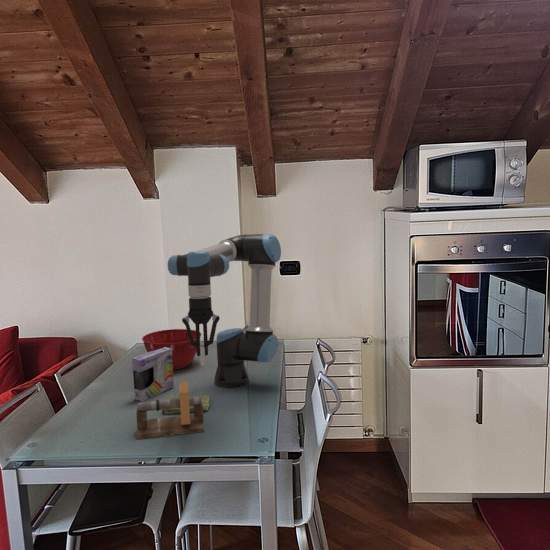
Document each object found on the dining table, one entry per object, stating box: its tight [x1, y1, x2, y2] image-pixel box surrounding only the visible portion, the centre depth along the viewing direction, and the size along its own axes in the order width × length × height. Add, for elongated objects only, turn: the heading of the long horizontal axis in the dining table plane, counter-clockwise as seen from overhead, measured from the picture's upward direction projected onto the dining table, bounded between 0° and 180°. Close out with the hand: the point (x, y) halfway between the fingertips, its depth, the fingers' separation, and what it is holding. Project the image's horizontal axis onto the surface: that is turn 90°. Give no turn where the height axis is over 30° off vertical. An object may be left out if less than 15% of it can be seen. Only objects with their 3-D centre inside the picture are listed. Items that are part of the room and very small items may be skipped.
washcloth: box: [161, 394, 211, 415], centre depth 186 cm, size 13×18×3 cm
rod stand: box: [135, 397, 205, 440], centre depth 167 cm, size 22×12×10 cm, turn 102°
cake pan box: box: [131, 347, 175, 402], centre depth 200 cm, size 19×5×18 cm, turn 147°
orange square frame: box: [178, 381, 191, 425], centre depth 167 cm, size 3×11×11 cm, turn 12°
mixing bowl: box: [141, 328, 202, 371], centre depth 239 cm, size 28×28×15 cm
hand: (202, 364), depth 167 cm, fingers closed
